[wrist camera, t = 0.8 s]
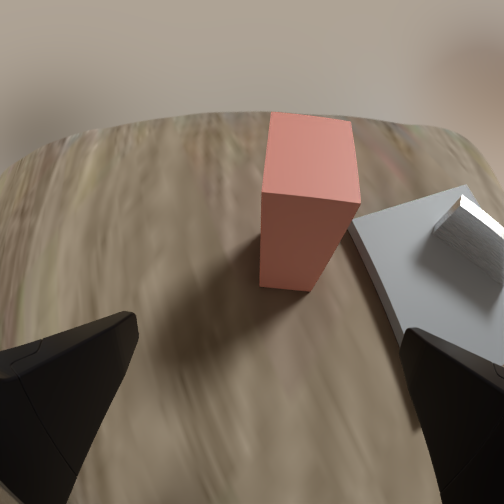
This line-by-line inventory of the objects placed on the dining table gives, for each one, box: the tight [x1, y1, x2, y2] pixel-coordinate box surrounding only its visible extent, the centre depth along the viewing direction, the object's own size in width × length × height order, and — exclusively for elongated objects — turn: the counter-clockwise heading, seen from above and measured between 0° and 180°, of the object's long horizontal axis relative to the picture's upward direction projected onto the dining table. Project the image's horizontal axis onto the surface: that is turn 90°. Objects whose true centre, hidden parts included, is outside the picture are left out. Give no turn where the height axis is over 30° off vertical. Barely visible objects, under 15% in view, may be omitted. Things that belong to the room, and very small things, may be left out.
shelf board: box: [347, 185, 504, 366], centre depth 22 cm, size 18×16×2 cm
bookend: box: [432, 195, 504, 287], centre depth 20 cm, size 10×1×5 cm, turn 56°
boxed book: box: [259, 112, 361, 292], centre depth 18 cm, size 5×4×12 cm
